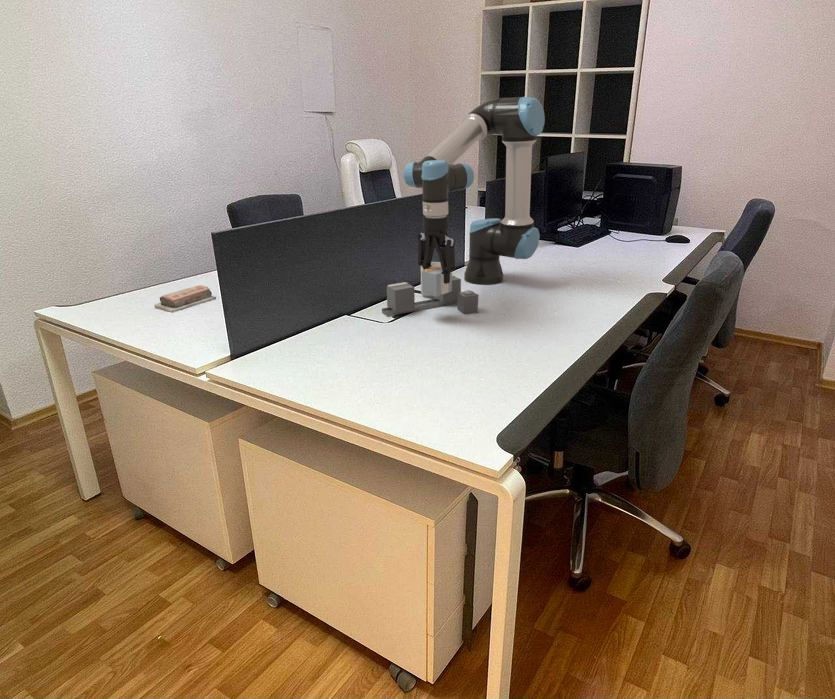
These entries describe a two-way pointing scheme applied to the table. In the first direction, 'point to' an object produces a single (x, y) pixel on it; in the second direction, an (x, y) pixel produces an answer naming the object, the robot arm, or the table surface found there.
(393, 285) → the mounted modules
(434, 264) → the mug
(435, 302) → the rail
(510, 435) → the table surface
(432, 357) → the table surface
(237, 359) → the table surface
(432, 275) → the block
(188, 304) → the packaged product
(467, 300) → the block
